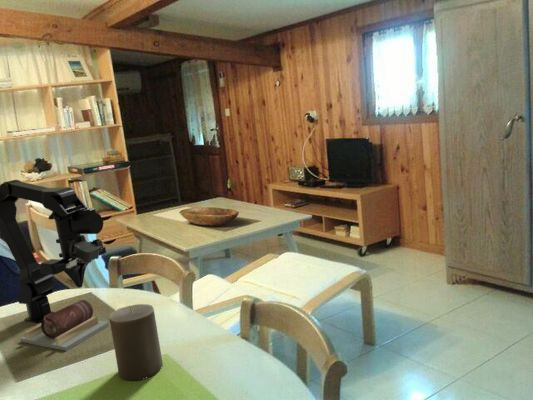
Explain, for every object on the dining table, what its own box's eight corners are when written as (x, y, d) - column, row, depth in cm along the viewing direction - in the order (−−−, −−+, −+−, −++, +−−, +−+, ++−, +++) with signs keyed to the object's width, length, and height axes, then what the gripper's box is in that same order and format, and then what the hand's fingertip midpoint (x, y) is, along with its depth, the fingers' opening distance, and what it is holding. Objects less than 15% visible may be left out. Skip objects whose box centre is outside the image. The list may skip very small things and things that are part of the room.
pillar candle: (140, 384, 105) (129, 318, 103) (109, 375, 111) (98, 312, 108) (172, 362, 113) (162, 300, 111) (141, 355, 119) (131, 295, 116)
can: (85, 294, 143) (47, 311, 130) (97, 312, 142) (61, 331, 129) (72, 305, 145) (35, 323, 132) (85, 323, 144) (48, 343, 131)
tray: (21, 341, 134) (18, 331, 134) (64, 318, 147) (62, 309, 146) (66, 350, 126) (64, 339, 125) (109, 325, 138) (107, 315, 137)
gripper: (61, 245, 126) (73, 302, 129) (115, 225, 142) (124, 276, 145) (32, 243, 131) (44, 299, 134) (87, 224, 147) (97, 274, 150)
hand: (80, 287), depth 140 cm, fingers closed
